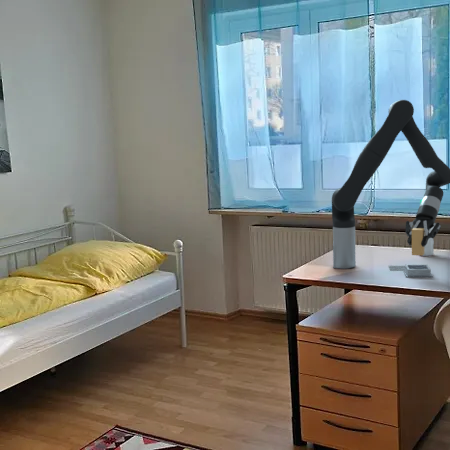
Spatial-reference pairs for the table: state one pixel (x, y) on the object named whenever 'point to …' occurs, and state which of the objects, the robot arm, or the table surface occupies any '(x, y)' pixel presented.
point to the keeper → (417, 271)
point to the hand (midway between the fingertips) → (416, 244)
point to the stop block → (417, 241)
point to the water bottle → (428, 245)
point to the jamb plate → (397, 268)
